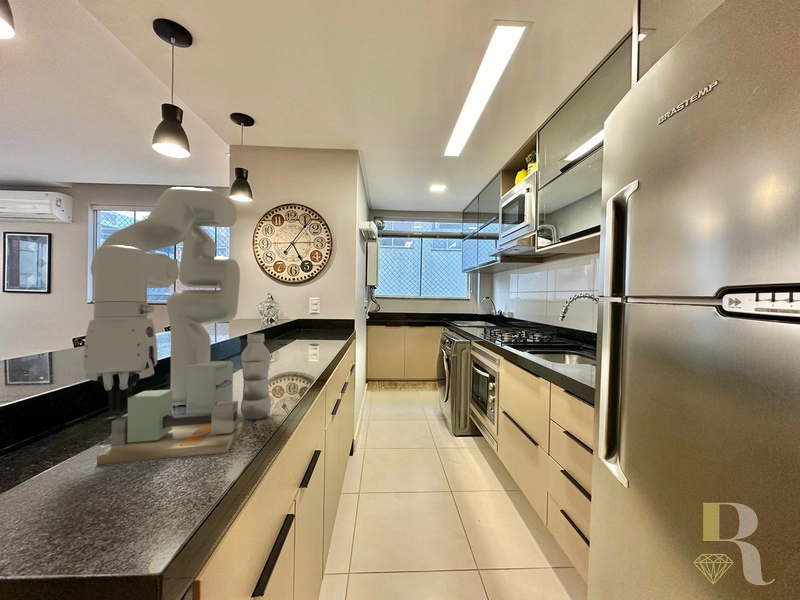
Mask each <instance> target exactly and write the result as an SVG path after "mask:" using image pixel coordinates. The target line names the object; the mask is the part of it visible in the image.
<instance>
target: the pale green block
mask: <svg viewBox="0 0 800 600" xmlns="http://www.w3.org/2000/svg"><path fill="white" fill-rule="evenodd" d="M172 400H173V389H172V390H171V389H157V390H155V389H154V390H143V391H141V392H138V393H137V394H134V395H132V397H129V398H128V408H127V413H128V434H127V442H138V441H150V440H159V439H160V438H162V437H163V436H164V435H166V434H167V433H168V432H170V431H171V430H172V426H171V427H163V417H165V416H173V406H172Z"/></svg>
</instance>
